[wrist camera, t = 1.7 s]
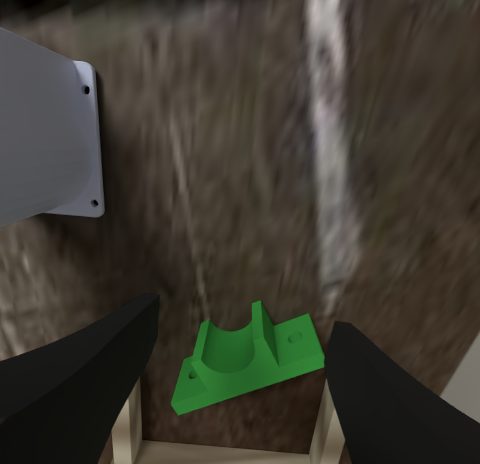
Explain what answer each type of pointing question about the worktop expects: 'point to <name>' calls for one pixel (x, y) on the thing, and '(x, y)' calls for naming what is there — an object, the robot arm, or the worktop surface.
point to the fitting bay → (220, 458)
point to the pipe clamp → (246, 359)
